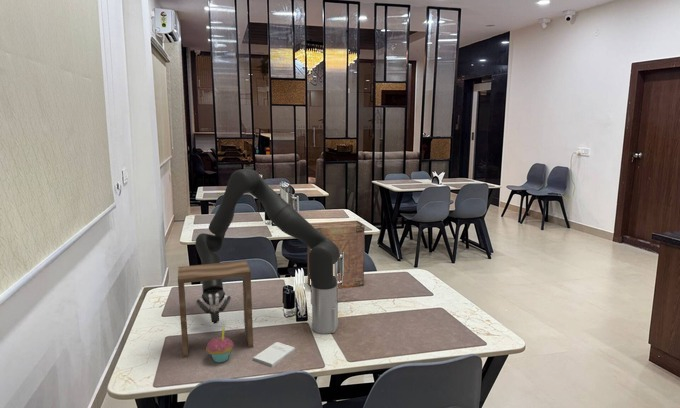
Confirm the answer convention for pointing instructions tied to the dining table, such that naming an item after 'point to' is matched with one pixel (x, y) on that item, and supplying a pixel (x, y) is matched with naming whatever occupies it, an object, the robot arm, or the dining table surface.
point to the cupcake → (220, 348)
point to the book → (346, 249)
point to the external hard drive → (273, 354)
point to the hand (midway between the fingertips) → (215, 322)
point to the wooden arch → (215, 273)
